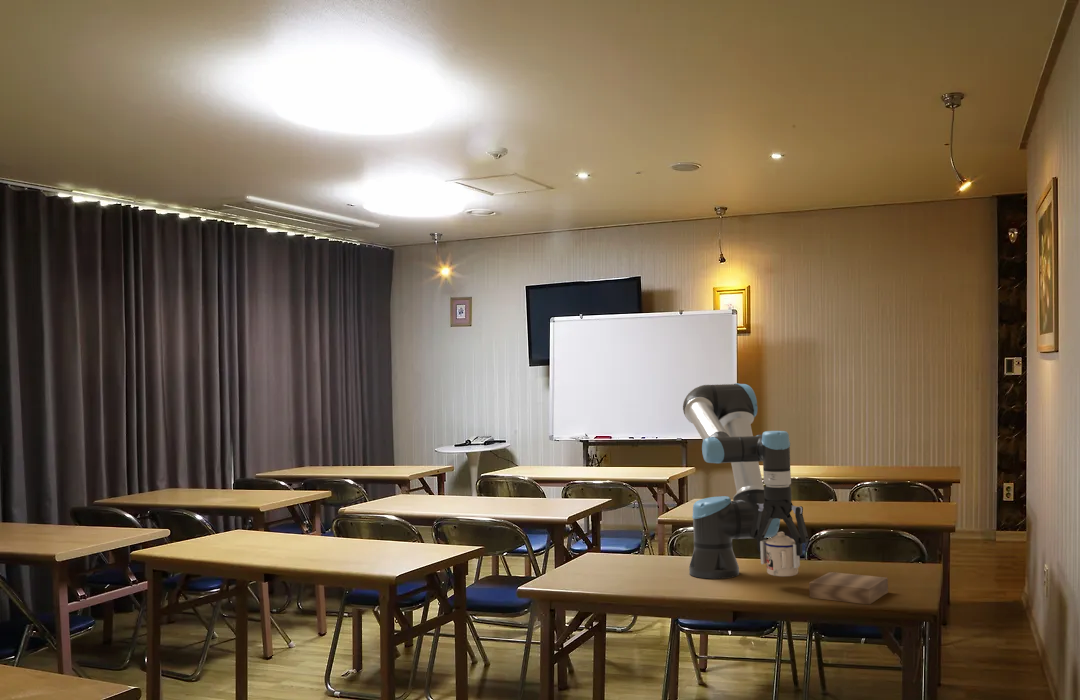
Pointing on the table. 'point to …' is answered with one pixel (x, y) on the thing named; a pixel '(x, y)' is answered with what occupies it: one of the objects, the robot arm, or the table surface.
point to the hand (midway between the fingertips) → (780, 565)
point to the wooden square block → (848, 587)
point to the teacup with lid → (780, 555)
